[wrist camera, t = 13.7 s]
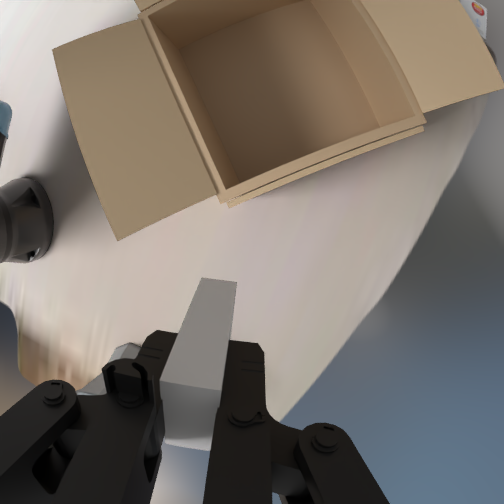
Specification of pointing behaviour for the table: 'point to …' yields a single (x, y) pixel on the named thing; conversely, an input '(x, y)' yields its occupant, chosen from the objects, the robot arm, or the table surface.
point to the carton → (257, 93)
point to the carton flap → (146, 4)
